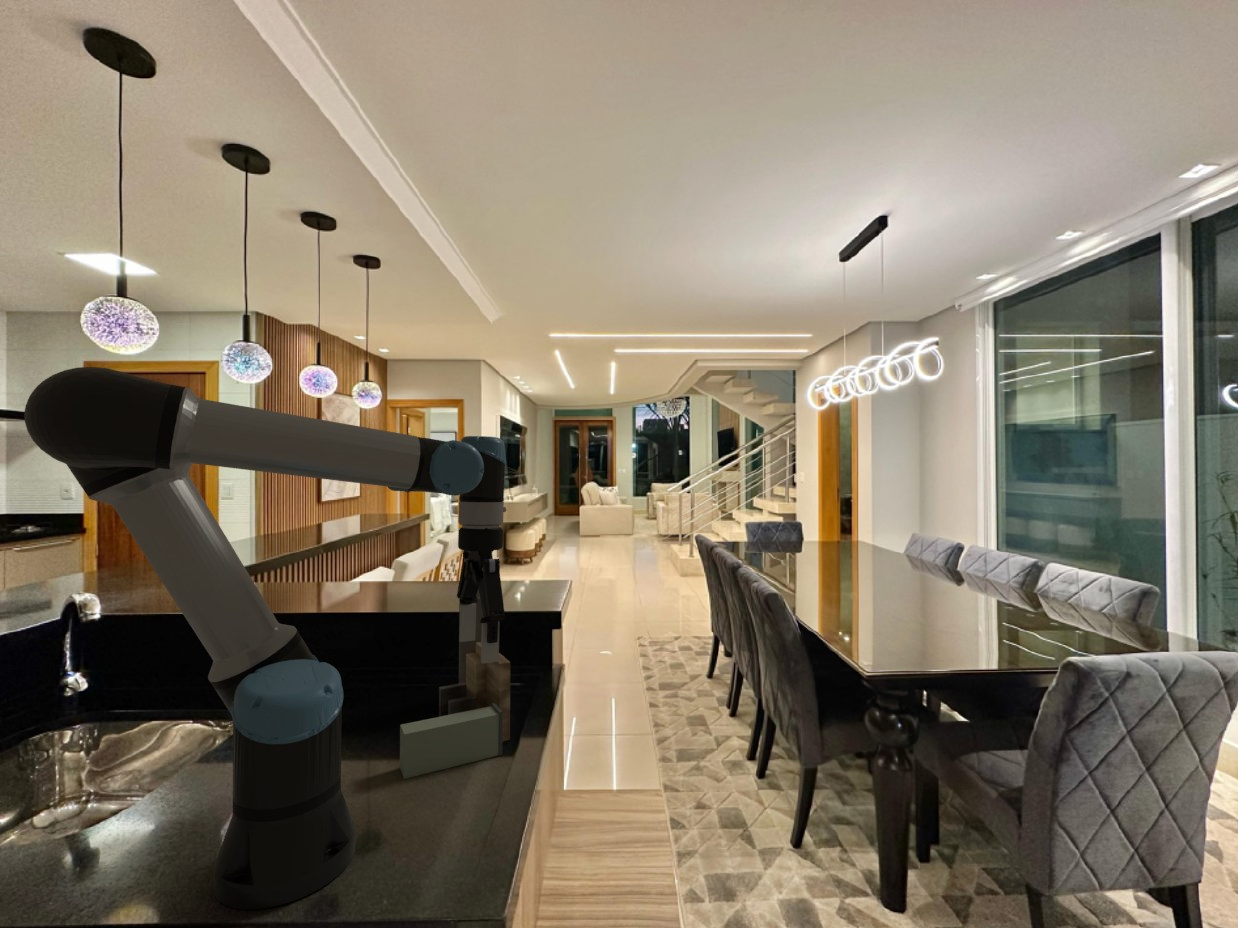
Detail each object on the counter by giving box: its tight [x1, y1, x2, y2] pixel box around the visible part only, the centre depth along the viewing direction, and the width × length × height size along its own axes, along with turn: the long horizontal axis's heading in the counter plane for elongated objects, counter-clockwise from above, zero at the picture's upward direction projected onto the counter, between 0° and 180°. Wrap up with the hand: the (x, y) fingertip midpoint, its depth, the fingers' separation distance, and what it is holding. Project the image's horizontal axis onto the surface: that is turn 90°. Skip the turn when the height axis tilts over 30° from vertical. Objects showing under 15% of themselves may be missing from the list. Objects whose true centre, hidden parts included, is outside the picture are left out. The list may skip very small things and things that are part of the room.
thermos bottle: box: [458, 589, 484, 684], centre depth 124 cm, size 8×8×28 cm
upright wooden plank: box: [438, 642, 511, 742], centre depth 110 cm, size 9×16×14 cm, turn 30°
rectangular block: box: [399, 703, 504, 780], centre depth 97 cm, size 16×4×7 cm, turn 120°
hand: (477, 650), depth 99 cm, fingers open, 13 cm apart
